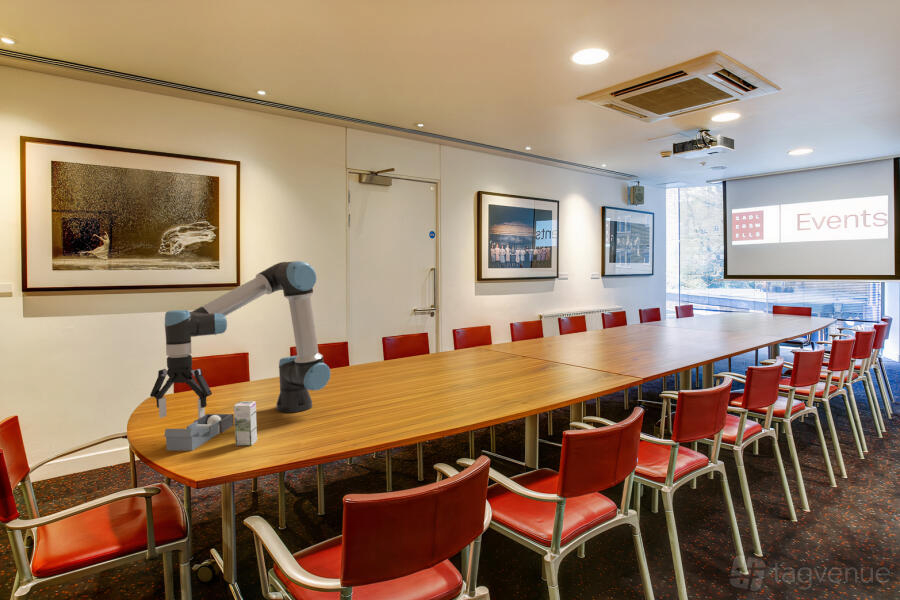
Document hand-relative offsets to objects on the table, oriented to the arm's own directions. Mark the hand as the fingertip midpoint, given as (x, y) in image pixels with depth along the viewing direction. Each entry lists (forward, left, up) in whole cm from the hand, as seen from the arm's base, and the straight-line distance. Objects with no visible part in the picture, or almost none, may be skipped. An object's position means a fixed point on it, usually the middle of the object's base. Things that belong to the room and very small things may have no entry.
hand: (182, 416), depth 166 cm
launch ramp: (0, -6, -11) cm, 12 cm away
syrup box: (-20, -4, -11) cm, 23 cm away
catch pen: (0, -20, -11) cm, 23 cm away
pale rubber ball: (0, -20, -8) cm, 22 cm away
